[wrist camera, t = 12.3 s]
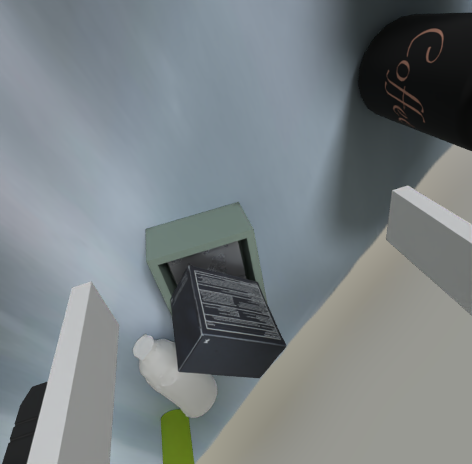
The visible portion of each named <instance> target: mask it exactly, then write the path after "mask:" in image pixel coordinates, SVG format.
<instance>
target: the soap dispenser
mask: <svg viewBox="0 0 472 464" xmlns="http://www.w3.org/2000/svg"><path fill="white" fill-rule="evenodd" d="M161 433H162V452H163V464H194V458H193V449H192V441H191V433H190V425H189V417H187V416H186V414H184V413H183V411H182V410H181V409H177V410H172V411H169V412H167V413H165V414H164V415H163V416H162V418H161Z"/></svg>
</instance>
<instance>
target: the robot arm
mask: <svg viewBox="0 0 472 464" xmlns="http://www.w3.org/2000/svg"><path fill="white" fill-rule="evenodd" d="M386 240H387V241H388V242H389V243H391V244H392V245H393V246H394V247H395V248H396V249H397V250H398V251H399V252H401V253H402V254H403V255H404V256H405V257H406V258H407V259H408V260H410V261H411V262H412V263H413V264H414V265H415V266H416V267H418V268H419V269H420V270H421V271H423V273H424V274H426V275H427V276H428V277H429V278H430V279H431V280H432V281H433V282H434V283H436V284H437V285H438V286H439V287H440V288H441V289H442V290H443V291H445V292H446V293H447V294H448V295H449V296H450V297H451V298H452V299H454V300H455V301H456V302H457V303H458V304H459V305H460V306H462V307H463V308H464V309H465V310H466V311H467V312H468V313H470V314H471V315H472V224H470V223H469V222H467V221H465V220H464V219H462V218H460V217H459V216H457V215H455V214H454V213H452V212H450V211H449V210H447V209H446V208H444V207H442V206H440V205H439V204H438V203H436V202H434V201H433V200H431V199H429V198H428V197H426V196H424V195H422V194H421V193H420V192H418V191H416V190H415V189H413V188H411V187H410V186H405V187H401V188H398V189H395V190H392V196H391V204H390V211H389V219H388V227H387V235H386ZM118 334H119V324H118V322H117V321H116V319H115V318H114V316H113V315H112V313H111V311H110V310H109V308H108V307H107V305H106V304H105V302H104V300H103V299H102V297H101V296H100V294H99V293H98V291H97V290H96V288H95V286H94V285H93V283H92V282H89V283H85V284H82V285H79V286H76V287H72V290H71V293H70V297H69V301H68V305H67V309H66V313H65V317H64V321H63V325H62V329H61V332H60V336H59V340H58V344H57V348H56V352H55V356H54V360H53V364H52V368H51V371H50V375H49V379H48V382H45V383H42V384H39V385H36V386H33V387H32V388H31V389H30V391H29V393H28V394H27V396H26V397H25V399H24V400H23V402H22V404H21V405H20V408H19V411H18V415H17V418H16V421H15V427H13V431H12V434H11V437H10V443H8V447H7V450H6V453H5V456H4V460H3V463H2V464H110V450H111V435H112V421H113V406H114V392H115V377H116V363H117V349H118Z"/></svg>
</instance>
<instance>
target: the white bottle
mask: <svg viewBox="0 0 472 464" xmlns="http://www.w3.org/2000/svg"><path fill="white" fill-rule="evenodd" d="M133 353H134V356H135V357H137V358H138V359H139V369H140V372H141V374H142V375H143V376H144V377H145V379H146V381H147V383H149V384H150V385H151V386H152V388H153V389H154V390H156V391H157V392H159V393H161V394H162V395H163V396H165V397H166V398H168V399H169V400H170V401H172V402H173V403H175V404H176V405H177V406H178V407H180V409H181V410H182V411H183V413H184V414H186V416H187V417H190V418H198V417H199V416H203V414H204V413H206V412H208V410H209V409H210V408H211V407H212V405H213V403H214V402H215V399H216V396H217V385H216V382H215V380H214V378H213V376H212V375H211V374H198V373H184V372H178V365H177V355H176V346H175V342H171V341H169V340H167V339H158V340H154V339H153V337H152V336H150V335H149V336H148V335H147V334H145V335H143V336H142V337H141V338H140V339H139V340H138V341H137V342H136V344H135V346H134V348H133Z"/></svg>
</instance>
